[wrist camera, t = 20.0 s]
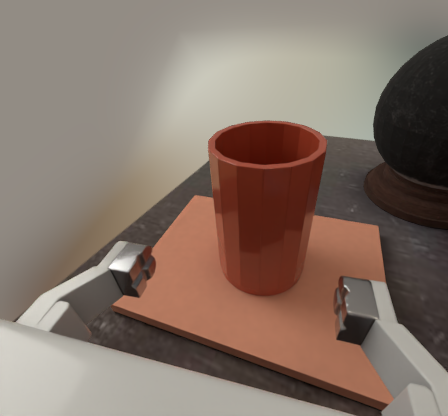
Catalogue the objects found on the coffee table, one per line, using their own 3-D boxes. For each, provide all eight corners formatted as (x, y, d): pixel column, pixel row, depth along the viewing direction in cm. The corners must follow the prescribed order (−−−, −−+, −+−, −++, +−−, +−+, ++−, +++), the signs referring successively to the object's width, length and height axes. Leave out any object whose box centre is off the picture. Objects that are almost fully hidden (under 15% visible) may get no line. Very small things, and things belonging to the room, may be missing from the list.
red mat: (113, 311, 19) (108, 303, 18) (196, 202, 29) (195, 194, 28) (397, 416, 13) (404, 410, 12) (374, 234, 23) (378, 225, 23)
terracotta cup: (208, 282, 19) (188, 159, 13) (235, 227, 24) (230, 118, 18) (296, 307, 17) (323, 175, 11) (307, 241, 22) (329, 123, 16)
